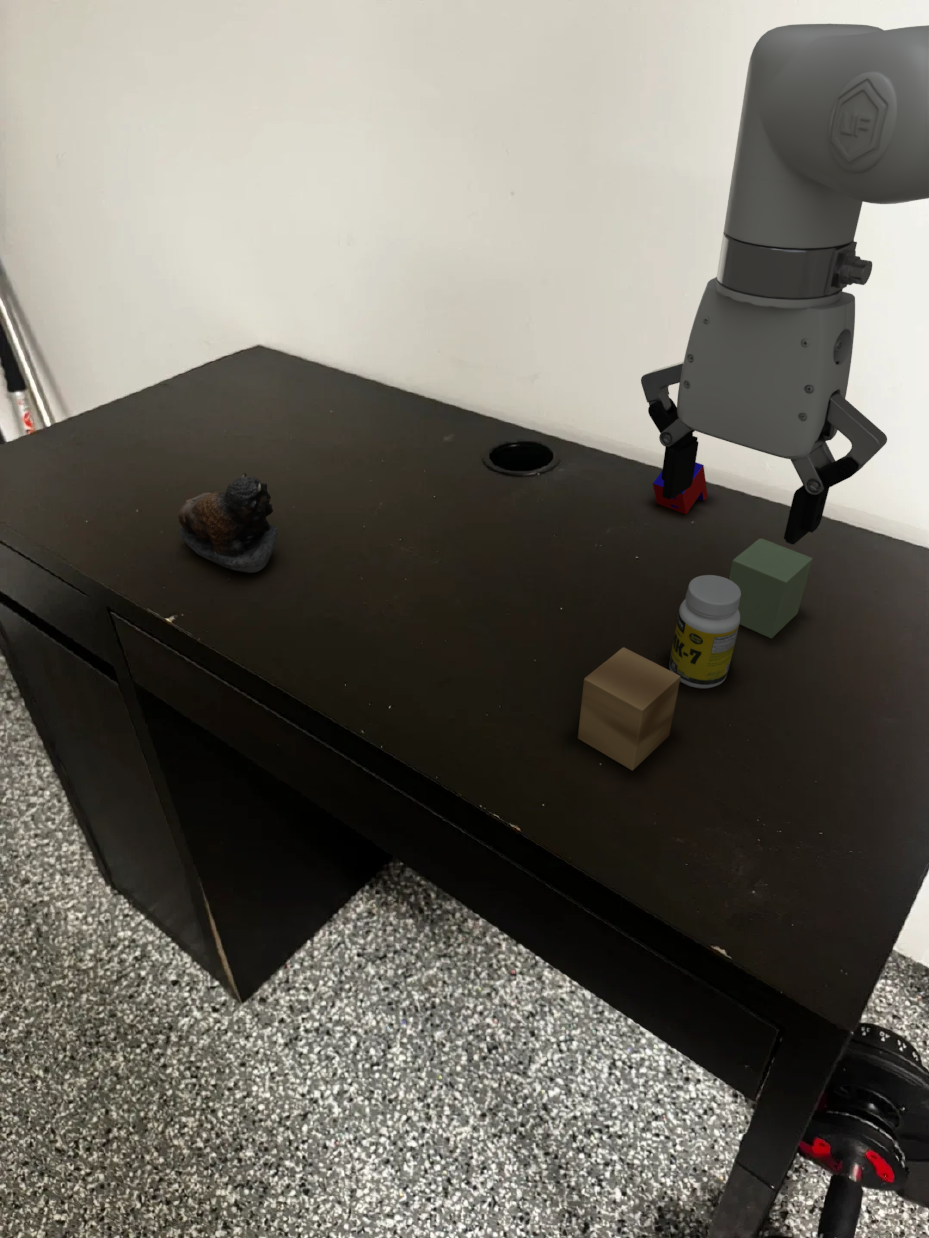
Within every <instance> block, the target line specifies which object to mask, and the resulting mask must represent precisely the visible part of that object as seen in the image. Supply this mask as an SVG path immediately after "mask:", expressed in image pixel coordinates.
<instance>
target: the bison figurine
mask: <svg viewBox="0 0 929 1238" xmlns="http://www.w3.org/2000/svg"><path fill="white" fill-rule="evenodd" d="M242 474H243V475H242V476H241V477H238V478H236V479H234V480H233V481H232V482H230V483H229V485H227V487H226V491H225V492H224V491H219V490H217V491H214V492H202V493H201V494H199V495H197V496H194V497H192V498H189V499H186V500H185V501H184V503H183V505H182V506H181V508H180V509H179V511H178V514H177V517H178V522H179V524H180V525H181V527H180V528H179V530H178V533H179V535H180V537H181V539H182V540H183V541H184V542H185V544H186V545H187V546H188V547H189V548H190V549H191V550H192V551H194V552H195V553H196V554H197V555H198V556H201V557H202V558H204V559H206V560H208V561H210V562H211V563H212V562H213V563H215V564H216V565H219V566H221V567H223V568H226V569H230V570H232V571H236V572H241V573H248V574H252V573H253V574H254V573H258V572H259V571H262V570H263V569H264V568H265V567H266V566H267V564H268V563H269V560H270V558H271V556H272V554H273V553H274V551H275V548H276V545H277V539H278V527H277V526H275V525H272V524H270V523H269V521H268V519H267V517H269V516H270V515H271V514H273V512H274V509H273V504H272V503H270V502H271V498H272V496H271V494H270V493H269V491H268V483H266V482H261V480H260V479H259V478H257V477H255V476H248V475H247V473H246V472H243V473H242Z"/></svg>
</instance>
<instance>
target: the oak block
mask: <svg viewBox="0 0 929 1238" xmlns="http://www.w3.org/2000/svg"><path fill="white" fill-rule="evenodd" d="M680 683H681V682H680V676H679V675H678V674H676V673H674V672H672V671H670V669H667V668H665V667H664V666H661V665H660V664H658V663H656V662H654V661H652V660H650V659H649V658H646V657H644V656H643V655H640V654H639V653H636V652H634V651H632V650H630V649H629V648H626V647H625V646H624V647H621V648H620V649H619V650H618V651H616V652H615V653H614V654H613V655H612V656H611V657H609V658H608V659H607V660H606V661H604V662H602V664H600V665H599V666H598V667H597V668H596V669H594V670H593V671H592V672H590V673H589V674H587V676H585V677H584V679H583V687H582V694H581V705H580V712H579V713H580V714H579V722H578V723H579V724H578V731H577V732H578V733H577V739H578V740H580V741H582V743H585V744H586V745H588V746H590V747H591V748H593V749H595V750H596V751H598V752H600V753H601V754H603V755H605V756H607V757H608V758H610V759H611V760H613V761H615V762H616V763H618V764H620V765H622V766H623V767H625V768H626V769H628V770H630V771H634V770H635V769H636V768H637V767H639V765H640V764H641V763H643V761H645V759H647V758H648V757H649V756H650V755H651V754H652V753H653V752H654V751H655V750H656V749H657V748H659V746H660V745H661V744H663V742H664V741H666V739H667V738H668V737H670V734H671V729H672V724H673V718H674V713H675V712H674V711H675V707H676V702H677V697H678V692H679V686H680Z"/></svg>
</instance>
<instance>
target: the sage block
mask: <svg viewBox="0 0 929 1238" xmlns="http://www.w3.org/2000/svg"><path fill="white" fill-rule="evenodd" d="M812 563H813V557H810V556H808V555H805V554H803V553H800V552H798V551H795V550H793V549H790V548H787V547H785V546H783V545H780V544H778V543H775V542H772V541H769V540H767V539H765V538H761V537H760V538H758V539H757V540H755V541H754V542H753V543H752V544H751V545H749V546H748V547H747V548H746V549H744V550H743V551H742V552H740V554H738V555H737V556H736V557H734V558H733V559H732V560H731V566H730V569H729V575H728V579H729V580H731V581H733V582H734V583H735V584H736V585H737V586H738V587H739V588H740V591H741V597H740V602H739V607H738V610H739V613H740V624H739V626H740V625H741V626H743V627H745V628H747V629H749V630H751V631H753V632H755V633H758V634H760V635H762V636H764V637H766V638H769V639H773V638H774V637H775V636H777V634H778V633H779V632H781V630H782V629H783V628H784V627H785V626H787V625H788V624H789V623H790V622H791V621H792V620H793V619H794V618H795V617H796V616H797V615H798V613H799V610H800V606H801V602H802V599H803V595H804V592H805V588H806V585H807V581H808V577H809V574H810V570H811V567H812Z"/></svg>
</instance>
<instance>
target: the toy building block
mask: <svg viewBox="0 0 929 1238" xmlns="http://www.w3.org/2000/svg"><path fill="white" fill-rule="evenodd" d="M663 486H664V480H662V470H661V471H660V473H659V474H658V475H657V477H656V478H655V479H654V480H653V482H652V487H653V491H654V496H655V501H656V504H657V505H659V506H662V507H665V508H668V509H671V510H672V511H676V512H679V513H681V514H684V515H687V514H688V513H689V511H690V510H691V508H692V507H693V505H694V504H695V503H696V501H697V500H699V501H702V502H705V500H706V499H707V497H708V489H707V480H706V474H705V466H704V464H702V463H699V462H696V463H695V469H694V476H693V482H692V485H691V487H690V488H688V489H687V490H685V491H684V492H682V493H681V494H679V495H678V496H676V497H675V498H673V499H672V498H671V499H670V500H669V499H666V498H664V497H663V496H662V493H663Z"/></svg>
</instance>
